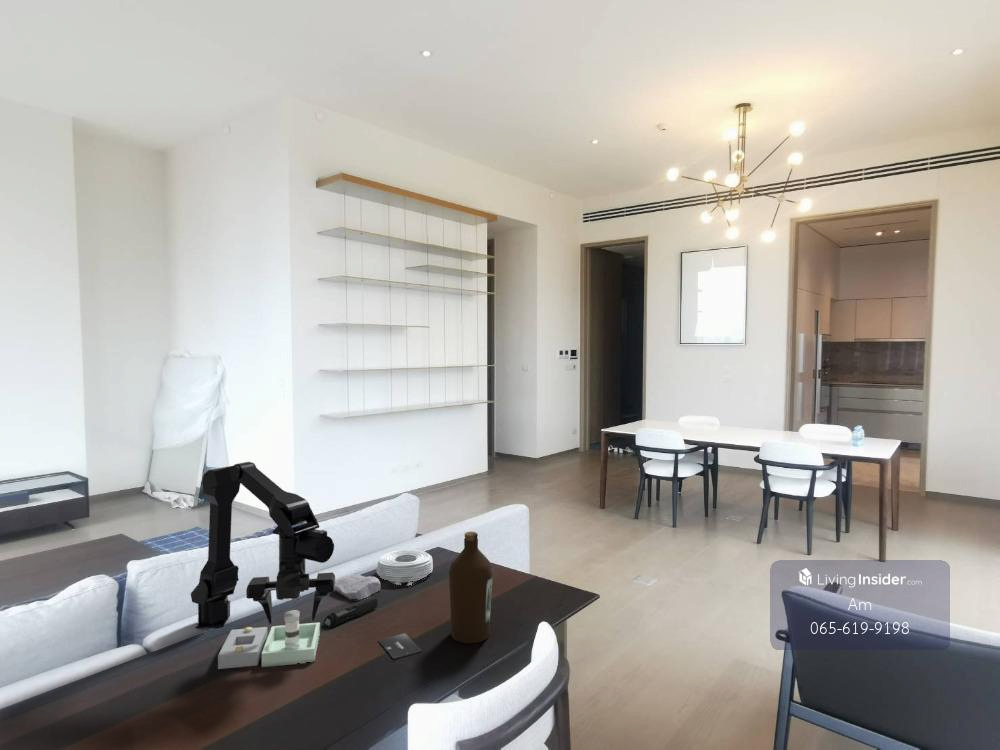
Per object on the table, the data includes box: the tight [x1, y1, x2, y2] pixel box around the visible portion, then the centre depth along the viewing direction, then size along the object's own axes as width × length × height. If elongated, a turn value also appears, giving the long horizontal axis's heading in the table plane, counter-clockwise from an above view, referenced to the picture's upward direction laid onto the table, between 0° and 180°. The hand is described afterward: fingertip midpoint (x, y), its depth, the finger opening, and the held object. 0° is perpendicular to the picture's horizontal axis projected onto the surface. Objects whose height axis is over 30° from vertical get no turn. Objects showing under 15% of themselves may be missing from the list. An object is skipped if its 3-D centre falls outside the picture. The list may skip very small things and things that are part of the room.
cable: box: [375, 548, 434, 587], centre depth 181 cm, size 18×18×6 cm
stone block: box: [334, 572, 382, 601], centre depth 167 cm, size 12×5×10 cm
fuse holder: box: [217, 626, 269, 670], centre depth 132 cm, size 8×12×4 cm, turn 12°
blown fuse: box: [284, 609, 300, 650], centre depth 133 cm, size 3×3×8 cm
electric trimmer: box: [322, 597, 378, 629], centre depth 151 cm, size 4×16×3 cm, turn 139°
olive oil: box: [448, 531, 494, 644], centre depth 142 cm, size 11×11×25 cm
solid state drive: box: [377, 633, 423, 661], centre depth 136 cm, size 7×10×1 cm
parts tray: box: [261, 622, 321, 668], centre depth 134 cm, size 11×13×3 cm
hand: (292, 621), depth 133 cm, fingers open, 9 cm apart
